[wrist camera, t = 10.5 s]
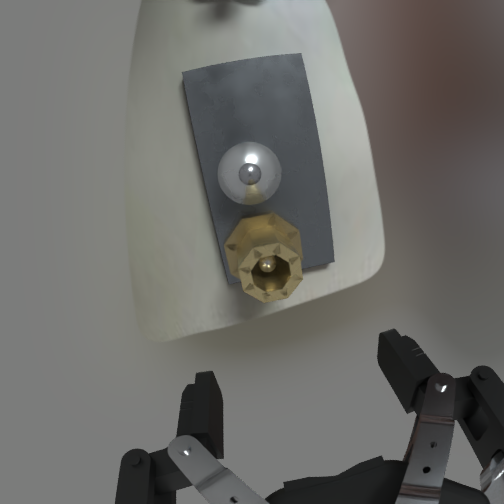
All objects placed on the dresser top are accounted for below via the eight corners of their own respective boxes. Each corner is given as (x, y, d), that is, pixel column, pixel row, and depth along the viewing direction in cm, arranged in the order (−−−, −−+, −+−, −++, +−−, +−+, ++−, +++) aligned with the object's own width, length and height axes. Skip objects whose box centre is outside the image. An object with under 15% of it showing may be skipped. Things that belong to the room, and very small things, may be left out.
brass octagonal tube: (219, 220, 27) (216, 240, 21) (293, 206, 27) (309, 222, 21) (235, 287, 29) (236, 319, 24) (302, 273, 29) (318, 302, 24)
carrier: (183, 75, 23) (173, 60, 18) (298, 56, 23) (312, 39, 18) (228, 278, 30) (228, 304, 26) (330, 257, 30) (348, 278, 26)
